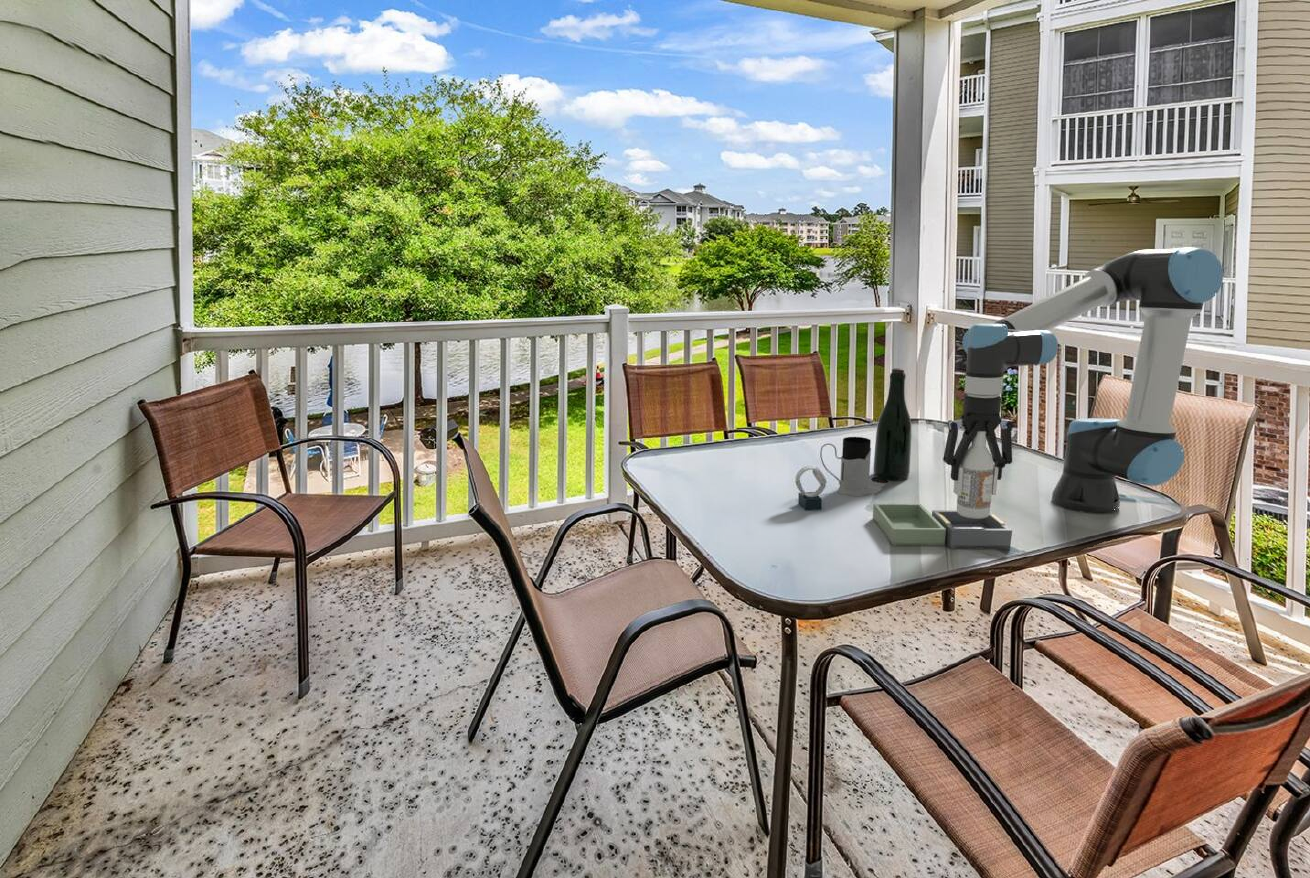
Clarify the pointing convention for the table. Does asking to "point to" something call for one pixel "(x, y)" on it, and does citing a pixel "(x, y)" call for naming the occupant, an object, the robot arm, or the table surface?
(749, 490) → the table surface
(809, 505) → the watch
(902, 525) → the green tray
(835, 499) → the table surface
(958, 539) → the gray square tray
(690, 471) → the table surface
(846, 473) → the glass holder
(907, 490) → the table surface
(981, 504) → the bath foam
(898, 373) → the wine bottle
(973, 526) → the plate
